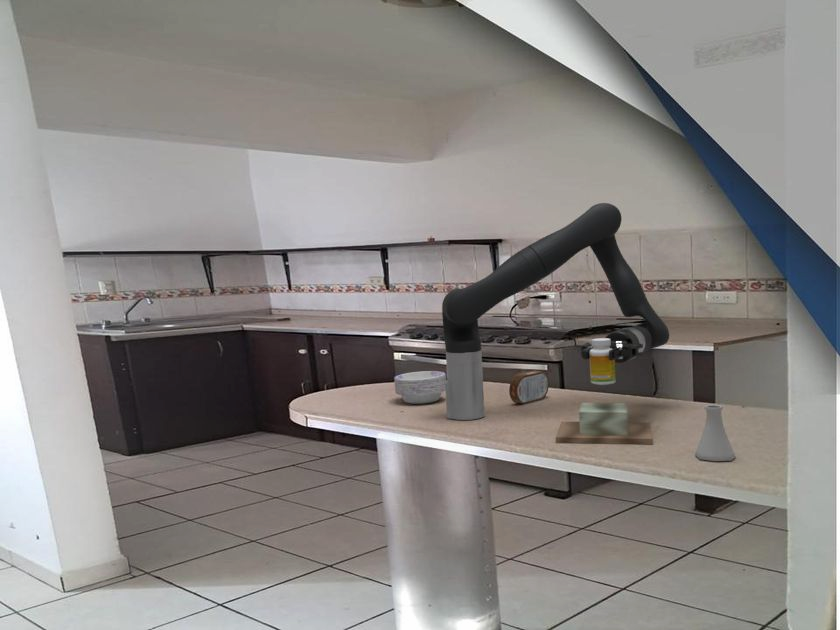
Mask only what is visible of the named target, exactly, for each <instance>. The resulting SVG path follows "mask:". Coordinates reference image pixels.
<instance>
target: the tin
mask: <svg viewBox="0 0 840 630" xmlns="http://www.w3.org/2000/svg"><path fill="white" fill-rule="evenodd" d="M548 391H549V377H548V375H547V373H546V372H544V371H541V370H535V369H534V370H529V371H525V372H520V373H517V374H515V375H514V376H513V377H512V379H511V381H510V383H509V389H508V393H509V397H510V400H511V401H512V402H513V403H515V404H521V405H525V404H528V403H533V402H537V401H541V400H543V399H544V398H545V397H546V396H547V394H548Z"/></svg>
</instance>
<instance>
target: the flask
mask: <svg viewBox="0 0 840 630" xmlns="http://www.w3.org/2000/svg"><path fill="white" fill-rule="evenodd" d="M723 408H724V407H723V405H720V404H706V405H705V406H704V409H705V410H706V415H705V416H706V418H705V423H704V427H703V431H702V434H701V436H700V439H699V442H698V445H697V447H696V450H695V453H694V456H695V457H697V458H698V459H699V460H703V461H704V460H705V461H710V462H728V461H729V462H731V461H732V460H734V459H735V458H736V455H735V453H734V450H733V447H732V444H731V442H730V439H729V437H728V435H727V432H726V429H725V426H724V423H723V422H724V421H723V418H722V411H723Z"/></svg>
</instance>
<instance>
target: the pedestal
mask: <svg viewBox="0 0 840 630" xmlns="http://www.w3.org/2000/svg"><path fill="white" fill-rule="evenodd" d="M578 418H579V419H578V420H579V421H570V420H569V421H564V420H563V421H560V424H559V427H558V429H557V433H556V436H555V443H557V444H559V443H560V444H600V445H601V444H604V445H605V444H608V445H609V444H610V445H611V444H612V445H616V444H617V445H654V438H653V432H652V426H651V425H652V424H651V422H649V421H639V422H638V421H628V403H627V402H581V403H580V407H579V411H578Z"/></svg>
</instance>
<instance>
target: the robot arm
mask: <svg viewBox="0 0 840 630" xmlns="http://www.w3.org/2000/svg"><path fill="white" fill-rule="evenodd" d="M621 224H622V213H621V211H620V210H619V208H618V207H617V206H616V205H614V204H611V203H608V202H601V203H596V204H594V205H592V206H591V207H589V208H588V209H587V210H586V211H585V212H584V213H582V214H581V215H580V216H579V217H577V218H576V219H574V220H573V221H572V222H570V223H569V224H567V225H566V226H564V227H563V228H560V229H559V230H557V231H554V232H552V233H549V234H547V235H545V236H543V237H542V238H540V239H538V240H536V241H534V242H533V243H530V244H529V245H527V246H526V247H524V248H522V249H520V250H519V251H517V252H515V253H514V254H512V255H511V256H510V257H508V258H507V259H505V261H503V262H502V264H500V265H499V266H498V267H497V268H496V269H495V270H494V271H493V272H491V273H490V274H488V275H487V276H486V277H484V278H482V279H480V280H478V281H476V282H475V283H472V284H470V285H468V286H466V287H463V288H454V289H452V290H450V291H449V292H448V293H446V295H445V296H444V298H443V300H442V303H441V304H442V305H441V312H442V315H441V316H442V317H441V318H442V326H443V327H442V329H443V330H442V331H443V338H444V339H443V340H444V345H445V363H446V382H445V388H446V390H445V403H446V404H445V405H446V418H447V419H452V420H457V421H470V420H471V421H472V420H477V419H481V418H484V417H485V394H484V377H483V375H484V374H483V358H482V357H483V355H482V340H481V336H480V332H479V330H480V329H479V320H478V319H480V318H481V317H482V316H483V315H485V314H486V313H487V312H488V311H490V310H491V309H493V308H494V307H495V306H497V305H498V304H500V303H501V302H503V301H505V300H506V299H508V298H510V297H513V296H514V295H516V294H518V293H520V292H522V291H524V290H526V289H527V288H530V287H531V286H533V285H535V284H537V283H538V282H540V281H542V280H543V279H545V278H547V277H548V276H549V275H551V274H552V273H554V272H555V271H557V270H558V269H560V268H561V267H562V266H563V265H565V264H566V263H567V262H568V261H570V260H571V259H572V258H573V257H574V256H576V255H577V254H578V253H580V252H581V251H583V250H585V249H586V248H588V247H589V248H590V249H591V251H592V252H593V255H594V256H595V257H596V259H597V261H598V263H599V265H600V266H601V268H602V269H603V270H602V271H603V272H604V274H605V276H606V278H607V280H608V283H609V284H610V287H611V289H612V293H613V294H614V296H615V300H616V301H617V304H618V306H619V309H620V312H621V314H623V316H624V317H625V318H632V317H641V318H643V320H645V321H644V322H641V323H638V324H636V325H633V326H630V327H624V328H620V329H617V330H615V331H611V332H610V333H608V334H607V335H606V336H605V337H604V338H608V339H610V340H611V345H610V348H612V350H609V360H615V364H623V363H626V362H628V361H630V360H633V359H635V358H637V357H641V356H643V355H644V353H645V352H646V351H649V350H652V349H655V348H659V347H662V346H664V345H666V344H667V343H668V341H669V339H670V331H669V328H668V326H667V325H666V323H665V322H664V321H663V320H662V319H661V317H660V316H659V315H658V313H657V312H656V311H655V310H654V308H653V307H652V305H651V304H650V302H649V300H648V299H647V295H646V293H645V292H644V288H643V287H642V284H641V282H640V280H639V278H638V277H637V275H636V273H635V272H634V271H633V269H632V268H631V266H630V264H629V263H628V262H627V260H626V259H625V258H624V256H623V255H622V252H621V250H620V247H619V246H618V243H617V242H618V241H617V238H616V235H615V234H617V232H618V231H619V230H620V227H621ZM591 349H593V346H592V343H591V342H585V343H584V344H582V345H581V346H580V352H581V353H580V355H581V358H582V360H586V361H587V360H590V356H589V352H590V350H591Z"/></svg>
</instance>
